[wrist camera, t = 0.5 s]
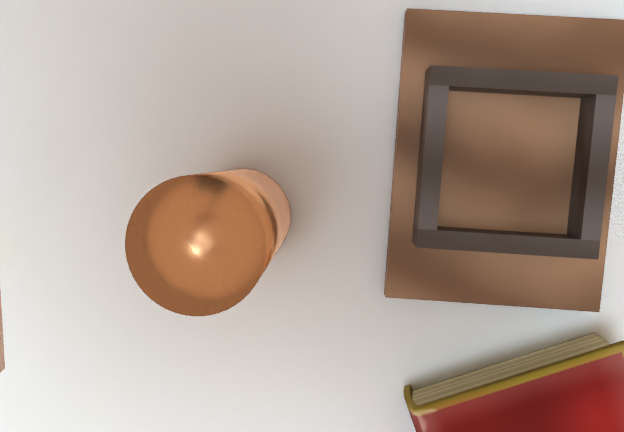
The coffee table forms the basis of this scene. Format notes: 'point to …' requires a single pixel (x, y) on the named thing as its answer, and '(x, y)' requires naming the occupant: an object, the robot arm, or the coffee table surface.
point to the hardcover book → (530, 393)
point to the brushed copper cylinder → (206, 239)
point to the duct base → (504, 158)
